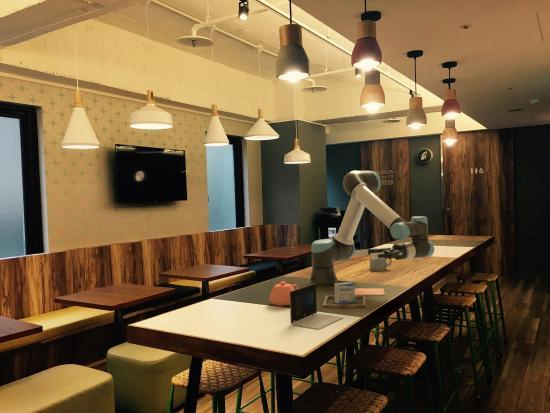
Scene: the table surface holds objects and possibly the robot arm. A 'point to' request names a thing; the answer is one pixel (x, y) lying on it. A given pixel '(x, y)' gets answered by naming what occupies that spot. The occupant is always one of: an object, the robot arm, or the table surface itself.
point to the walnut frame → (343, 304)
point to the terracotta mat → (369, 291)
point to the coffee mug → (379, 264)
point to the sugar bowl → (281, 294)
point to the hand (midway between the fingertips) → (362, 254)
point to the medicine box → (344, 292)
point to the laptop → (308, 309)
